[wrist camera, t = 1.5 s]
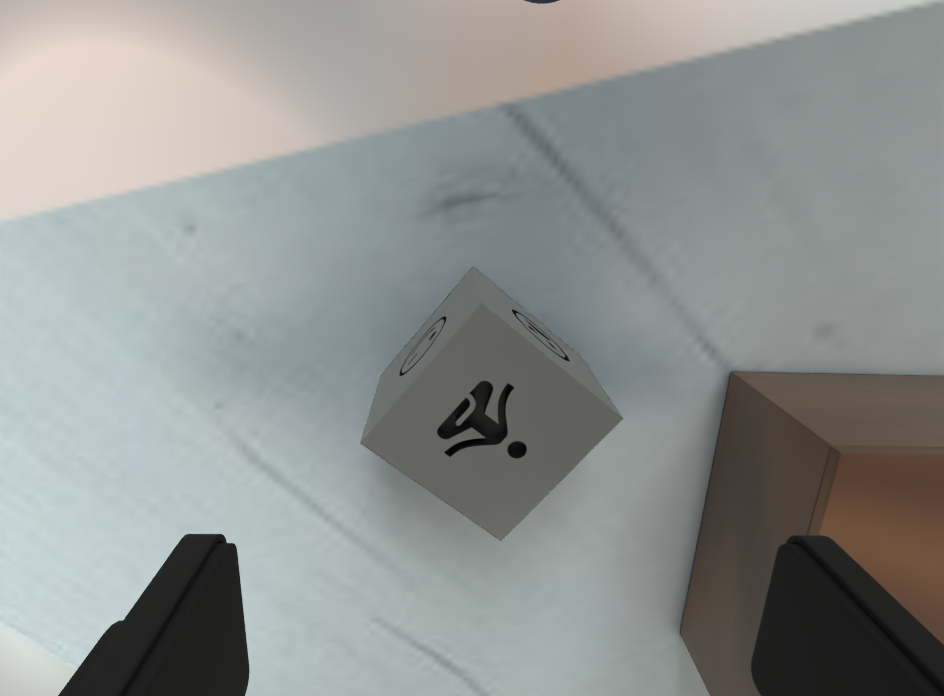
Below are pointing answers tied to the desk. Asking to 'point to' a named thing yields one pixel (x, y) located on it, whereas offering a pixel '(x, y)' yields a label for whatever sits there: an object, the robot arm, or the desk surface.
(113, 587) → the desk surface
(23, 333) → the desk surface
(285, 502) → the desk surface
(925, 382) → the walnut block
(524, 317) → the dice cube
